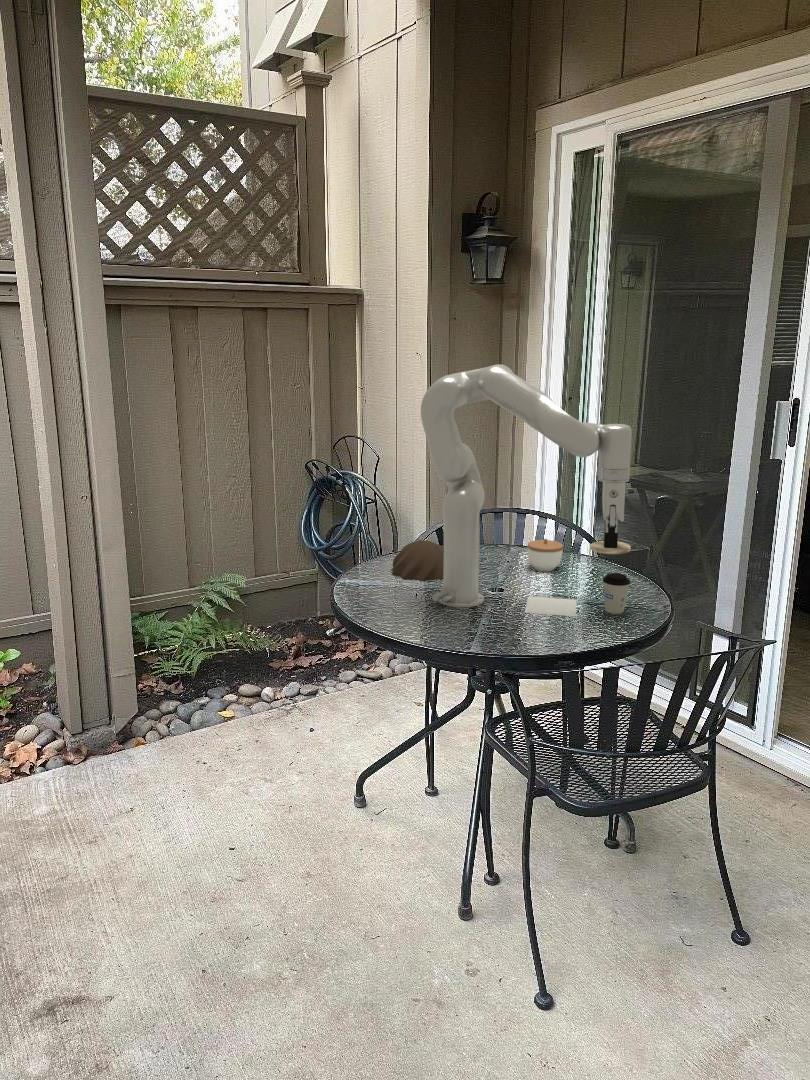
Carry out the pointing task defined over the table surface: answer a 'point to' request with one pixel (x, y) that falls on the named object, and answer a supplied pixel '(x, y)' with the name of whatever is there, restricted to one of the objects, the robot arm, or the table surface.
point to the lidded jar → (545, 554)
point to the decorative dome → (420, 561)
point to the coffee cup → (615, 592)
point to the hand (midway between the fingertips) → (610, 545)
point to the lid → (619, 550)
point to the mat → (551, 606)
